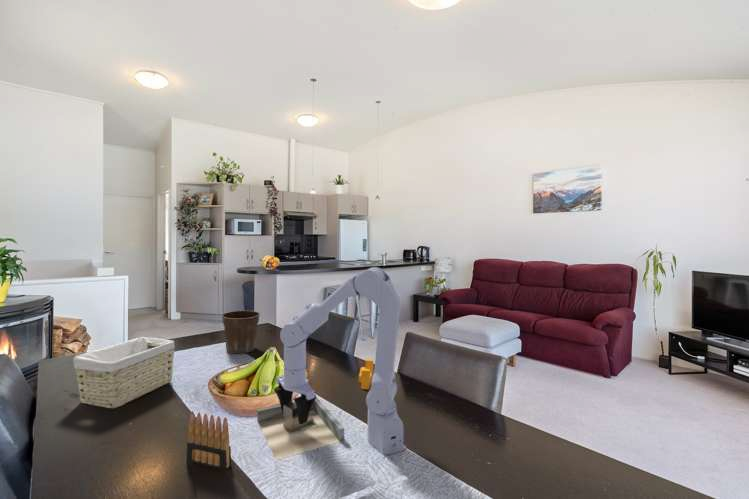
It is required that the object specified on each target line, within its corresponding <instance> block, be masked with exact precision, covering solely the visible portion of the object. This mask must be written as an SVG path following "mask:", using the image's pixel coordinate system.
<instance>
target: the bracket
mask: <svg viewBox="0 0 749 499" xmlns="http://www.w3.org/2000/svg"><path fill="white" fill-rule="evenodd" d="M293 402H294V401H292V402H290V403H287V404H284V405H283V427H284V428H286V429H287V430H289V431H290V432H295V431H297V430H299V429H301V428H303V427H305V426H308V425H310V424H312V423H314V418H312V417H310V416H308V420H307V422H305V423H303V424H299V420H298V410H297V406H296V404H295V403H293Z"/></svg>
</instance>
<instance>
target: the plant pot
mask: <svg viewBox="0 0 749 499" xmlns="http://www.w3.org/2000/svg"><path fill="white" fill-rule="evenodd" d="M260 316H261V313H260V312H259V311H255V310H233V311H229V312H225V313H222V314H221V318H222V323H223V328H224V336H225V337H224V340H225V350H226V352H227V353H228V354H236V353H237V354H246V353H250V352H253V351H255V349H256V342H257V331H258V324H259V320H260Z"/></svg>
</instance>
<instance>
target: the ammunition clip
mask: <svg viewBox="0 0 749 499" xmlns="http://www.w3.org/2000/svg"><path fill="white" fill-rule="evenodd" d="M201 415H202V414H201V412H198V413H197V415H195V412H194V411H193V410H192V411H191V412H190V416H189V425H188V427H189V428H188V442H186V464H188V465H187V466H190V465H192V466H191V467H194V464H197V465H202V466H207V467H211V468H215V469H219V470H222V471H227V470H228V468H229V467H231V466H232V449H231V447H232V446H231V445H230V434H229V422H228V419H227V417H226V416H225V417H224V418H223V421H221V417H220V416H219V415H218V416H217V418H216V421H215V417H214V415H213V414H211V415H210V418H209V417H208V414H207V413H204V415H203V419H202V416H201Z"/></svg>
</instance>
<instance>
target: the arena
mask: <svg viewBox="0 0 749 499" xmlns="http://www.w3.org/2000/svg"><path fill="white" fill-rule="evenodd" d="M292 402H293V403H295V401H294V400H293V401H292ZM295 404H296V403H295ZM256 411H257V413H256V416H257V418H256V420H257V422H256V423H257V424H258V426H259V428H260V430H261V432H262V434H263V436H264V438H265V440H266V443H267V444H268V447H269V448H270V450H271V453H272V455H273V457H274V458H275V461H278V460H282V459H285V458H289V457H292V456H295V455H299V454H303V453H306V452H310V451H314V450H317V449H320V448H324V447H327V446H331V445H334V444H337V443H342V442H344V441H345V427H344V426H343V425H342V424H341V423H340V422H339V420H338V419H337V418H336V417H335V416H334V415H333V414H332V413H331V411H330V410H328V408H327V407H326V406H325V405H324V404H323V403H322V401H320V400H319V398H318V397H317V396H316V399H315V401H314V402H313V404H312V406H311V409H310V412H309V416H310V417H312V418H314V423H312V424H310V425H308V426H305V427H303V428H301V429H299V430H297V431H295V432H290V431H289V430H287V429H286V428H284V427H283V413H282V409H281V405H280V404H276V405H271V406H266V407H263V408H262V407H261V408H258V409H257V410H256Z"/></svg>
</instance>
